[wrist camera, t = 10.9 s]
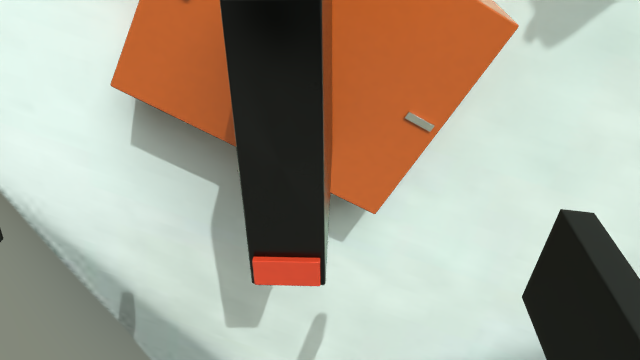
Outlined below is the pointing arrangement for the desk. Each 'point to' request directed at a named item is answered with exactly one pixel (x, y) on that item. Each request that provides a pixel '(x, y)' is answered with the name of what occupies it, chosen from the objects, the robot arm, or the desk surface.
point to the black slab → (282, 132)
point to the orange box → (347, 77)
